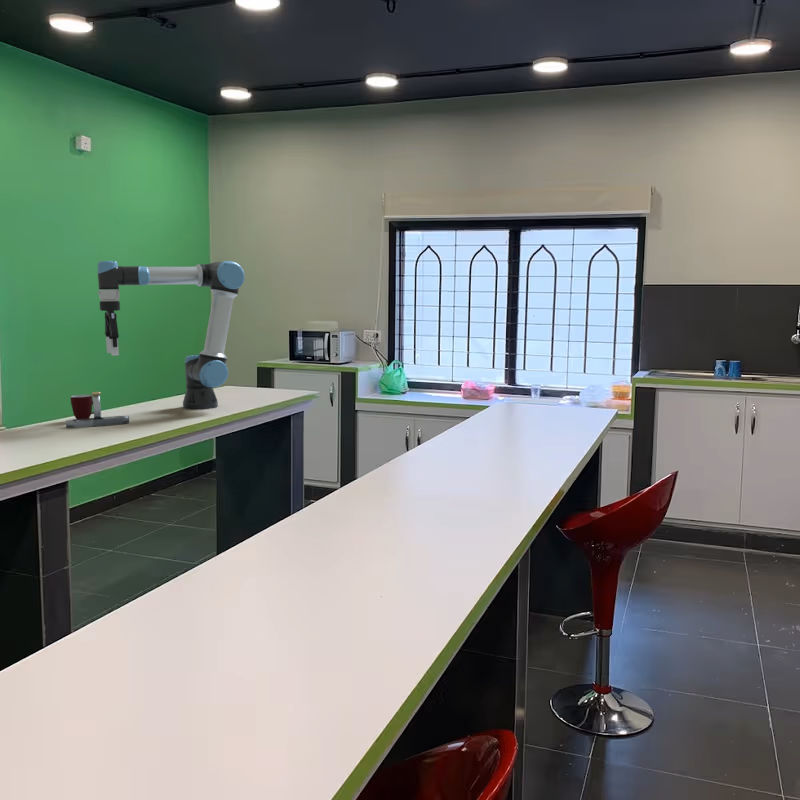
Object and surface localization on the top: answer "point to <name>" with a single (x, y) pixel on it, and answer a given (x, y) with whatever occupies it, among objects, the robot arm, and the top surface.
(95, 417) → the pin
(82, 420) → the grey rounded bar
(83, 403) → the mug
